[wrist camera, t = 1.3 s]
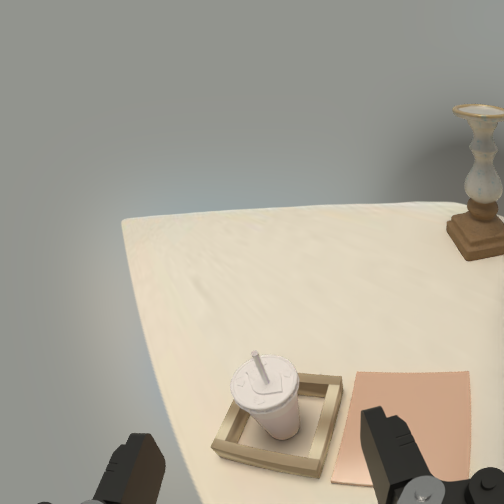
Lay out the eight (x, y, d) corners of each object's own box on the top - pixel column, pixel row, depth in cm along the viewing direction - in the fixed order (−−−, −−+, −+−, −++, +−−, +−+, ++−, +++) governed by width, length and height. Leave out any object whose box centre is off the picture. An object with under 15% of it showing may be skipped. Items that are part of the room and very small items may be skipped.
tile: (357, 375, 36) (356, 371, 35) (467, 375, 30) (468, 371, 29) (331, 482, 25) (330, 480, 25) (465, 485, 19) (468, 483, 19)
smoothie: (285, 460, 29) (248, 395, 22) (244, 430, 33) (198, 357, 26) (323, 419, 32) (304, 340, 25) (282, 394, 37) (250, 313, 30)
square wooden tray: (254, 380, 40) (248, 367, 38) (343, 390, 35) (341, 376, 33) (220, 457, 31) (210, 447, 29) (319, 478, 26) (316, 470, 25)
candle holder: (515, 252, 42) (525, 115, 31) (466, 261, 45) (468, 117, 33) (490, 221, 51) (490, 102, 40) (445, 229, 54) (439, 104, 42)
